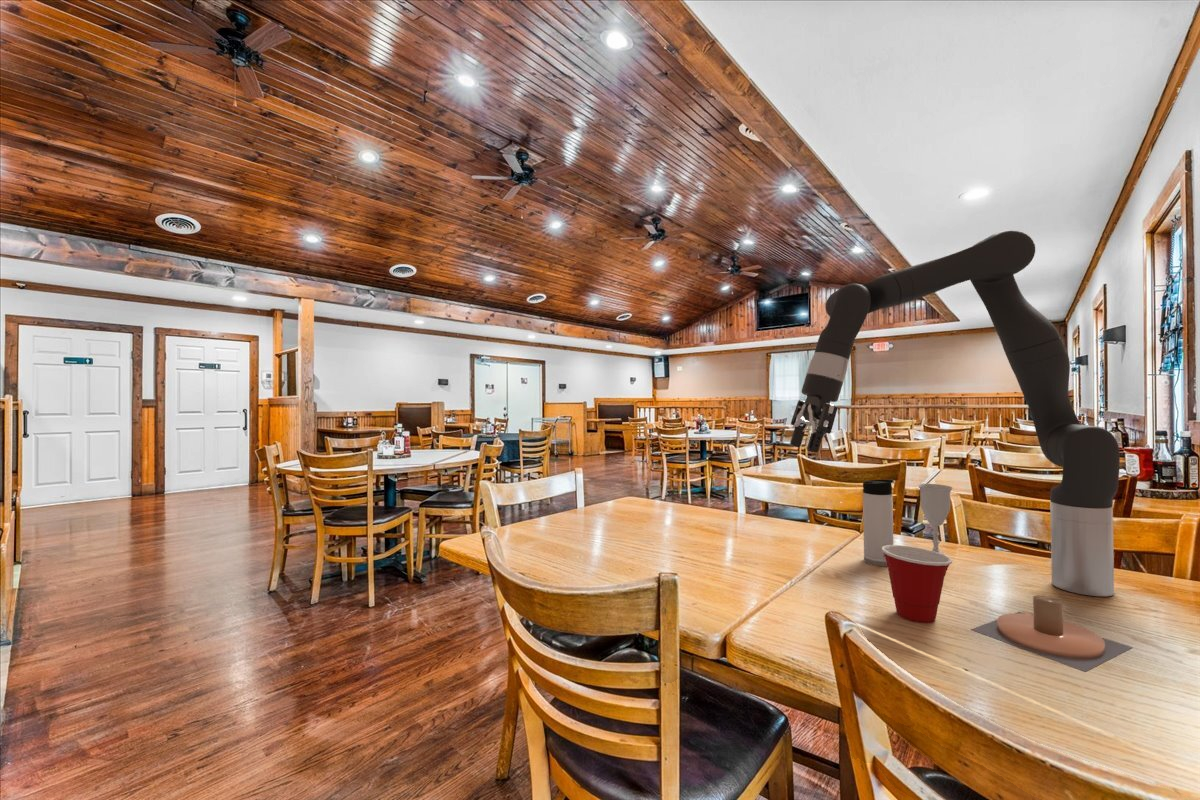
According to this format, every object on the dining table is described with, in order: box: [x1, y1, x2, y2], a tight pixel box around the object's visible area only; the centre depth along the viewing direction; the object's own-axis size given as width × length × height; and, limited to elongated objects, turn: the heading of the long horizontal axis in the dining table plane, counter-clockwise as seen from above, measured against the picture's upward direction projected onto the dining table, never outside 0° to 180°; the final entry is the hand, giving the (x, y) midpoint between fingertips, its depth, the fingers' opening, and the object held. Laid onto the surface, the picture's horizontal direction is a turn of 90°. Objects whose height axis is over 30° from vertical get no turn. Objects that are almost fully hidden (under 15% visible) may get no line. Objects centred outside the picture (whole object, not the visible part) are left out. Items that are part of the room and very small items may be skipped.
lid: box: [996, 594, 1105, 658], centre depth 82 cm, size 13×13×6 cm
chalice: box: [917, 483, 953, 555], centre depth 122 cm, size 7×7×18 cm
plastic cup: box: [882, 544, 953, 624], centre depth 92 cm, size 11×11×12 cm
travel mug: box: [862, 478, 895, 567], centre depth 122 cm, size 6×7×20 cm
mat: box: [970, 611, 1134, 673], centre depth 82 cm, size 15×15×1 cm
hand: (803, 448), depth 110 cm, fingers open, 8 cm apart
